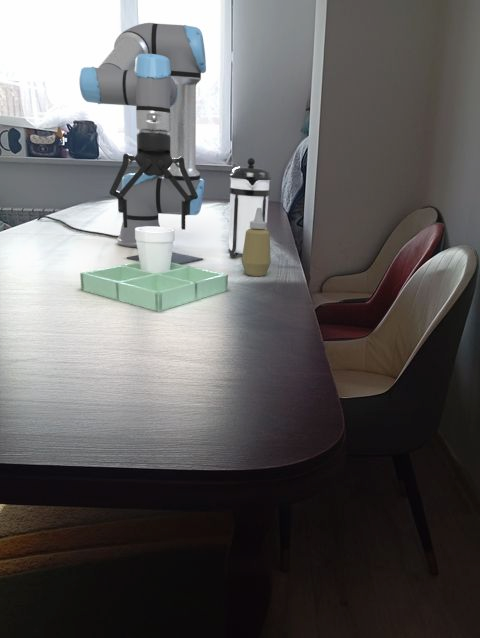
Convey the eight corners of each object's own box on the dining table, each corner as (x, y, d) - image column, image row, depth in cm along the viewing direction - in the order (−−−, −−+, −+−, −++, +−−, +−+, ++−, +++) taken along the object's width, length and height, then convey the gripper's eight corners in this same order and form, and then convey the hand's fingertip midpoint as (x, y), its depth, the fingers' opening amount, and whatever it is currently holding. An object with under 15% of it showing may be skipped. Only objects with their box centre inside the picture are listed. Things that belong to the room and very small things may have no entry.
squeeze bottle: (248, 278, 138) (252, 209, 132) (236, 271, 145) (239, 206, 139) (274, 276, 142) (279, 210, 136) (261, 270, 149) (265, 206, 142)
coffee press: (280, 256, 169) (287, 160, 158) (246, 262, 158) (251, 158, 147) (243, 248, 180) (247, 157, 169) (209, 252, 169) (211, 155, 158)
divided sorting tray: (81, 290, 118) (80, 272, 116) (154, 273, 137) (154, 258, 135) (158, 311, 106) (158, 293, 105) (227, 290, 125) (228, 274, 124)
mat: (126, 258, 152) (126, 257, 152) (163, 251, 165) (164, 250, 165) (167, 267, 145) (167, 266, 145) (202, 259, 157) (202, 258, 157)
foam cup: (178, 279, 133) (179, 228, 128) (169, 287, 124) (169, 233, 120) (143, 276, 133) (141, 225, 129) (131, 284, 125) (129, 230, 120)
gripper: (94, 127, 110) (99, 228, 118) (210, 136, 116) (208, 231, 123) (97, 129, 117) (102, 223, 124) (206, 137, 122) (204, 227, 130)
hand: (154, 228), depth 124 cm, fingers open, 13 cm apart
